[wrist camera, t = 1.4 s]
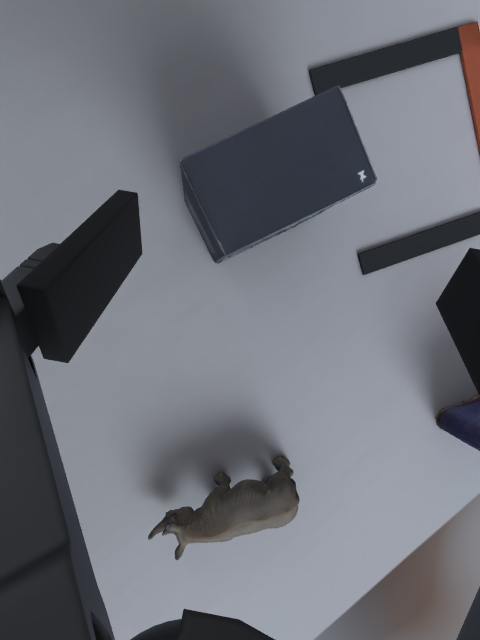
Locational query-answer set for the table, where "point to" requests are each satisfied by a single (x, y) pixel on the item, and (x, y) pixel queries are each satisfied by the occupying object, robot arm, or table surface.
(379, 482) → the table surface
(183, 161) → the small box
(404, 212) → the table surface
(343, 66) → the bay
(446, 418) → the flask
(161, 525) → the rhino figurine
